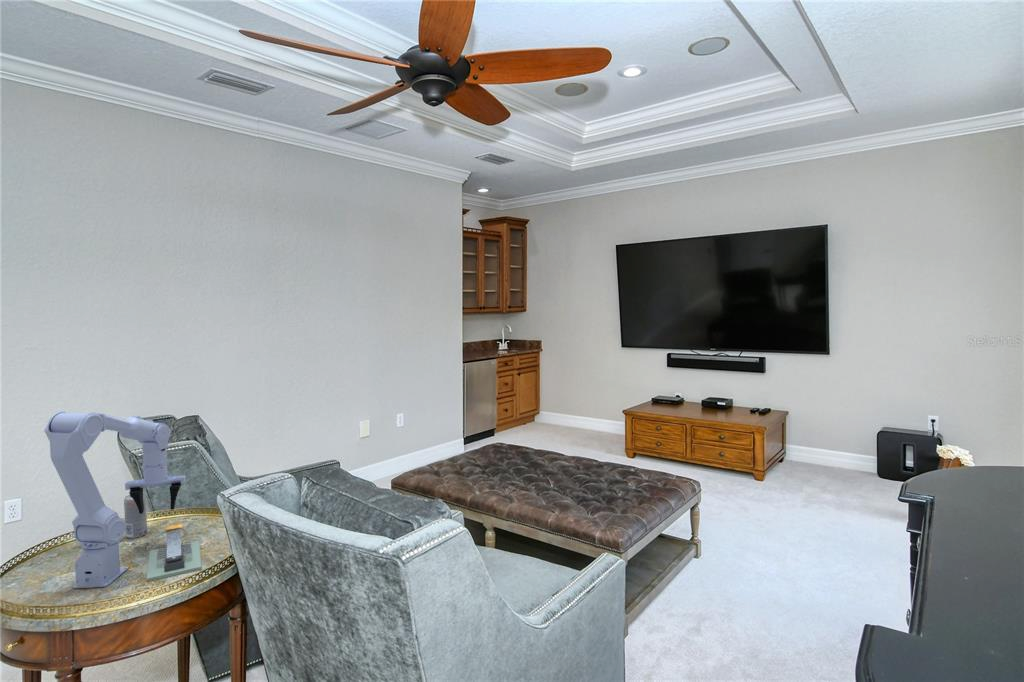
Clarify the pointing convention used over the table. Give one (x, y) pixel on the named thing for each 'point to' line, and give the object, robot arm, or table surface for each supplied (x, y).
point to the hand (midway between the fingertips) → (157, 510)
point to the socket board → (188, 565)
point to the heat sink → (185, 553)
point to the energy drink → (134, 518)
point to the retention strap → (173, 542)
